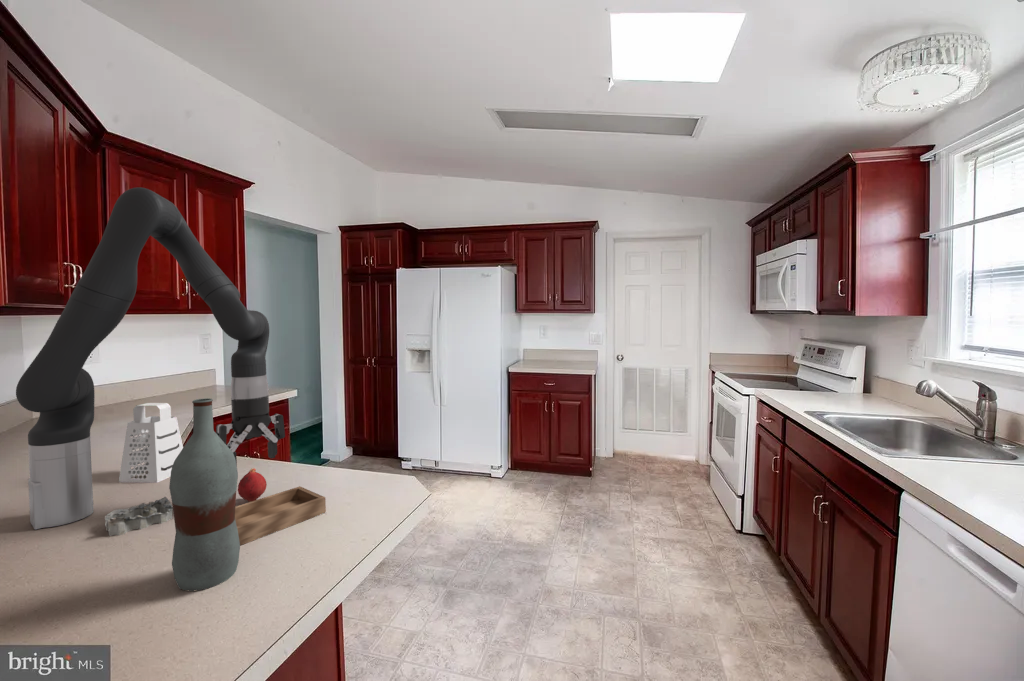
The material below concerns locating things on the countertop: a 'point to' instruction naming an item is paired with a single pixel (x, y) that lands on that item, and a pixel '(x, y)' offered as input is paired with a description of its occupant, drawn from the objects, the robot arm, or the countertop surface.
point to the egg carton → (138, 516)
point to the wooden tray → (277, 512)
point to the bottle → (204, 506)
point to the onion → (252, 486)
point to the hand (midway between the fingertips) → (253, 462)
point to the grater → (150, 445)
